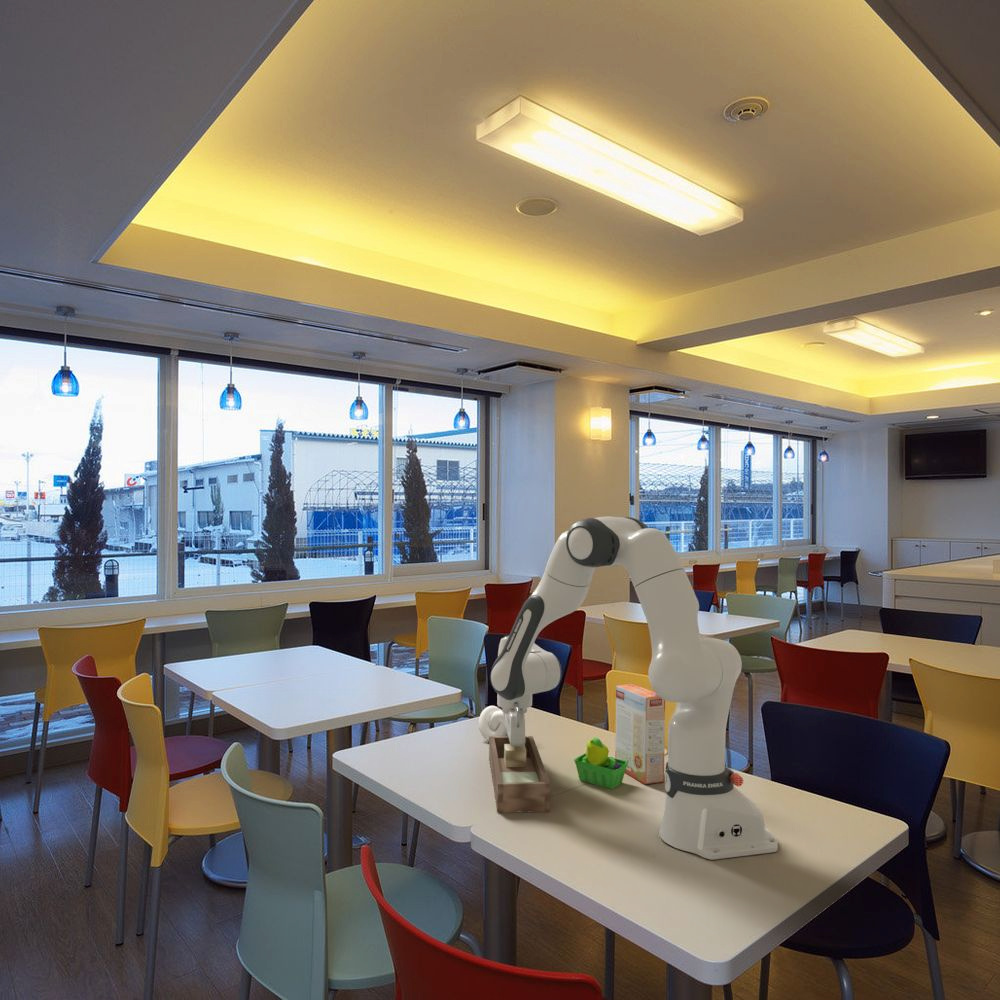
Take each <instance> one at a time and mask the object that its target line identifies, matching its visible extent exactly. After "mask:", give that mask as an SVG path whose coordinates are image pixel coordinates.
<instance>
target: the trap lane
mask: <svg viewBox="0 0 1000 1000" xmlns="http://www.w3.org/2000/svg"><path fill="white" fill-rule="evenodd" d="M488 742H489V743H488V744H489V747H488V753H489V754H488V762H489V761H490V762H489V768H491V769H490V772H491V773H490V775H491V774H492V775H491V779H492V780H491V781H492V787H494V788H493V792H494V799H495V800H496V801H495V806H496V813H497V812H501V813H519V812H518V811H521V812H520V813H529V812H528V811H531V812H530V813H550V812H551V782H550V779H549V777H548V773H547V771H546V768H545V765H544V762H543V760H542V758H541V755H540V752H539V749H538V747H537V743H536V741H535V739H534V736H533V735H527V736H526V735H525V748H526V767H505V762H504V744H510V742H509V738H508V736H506V735H505V736H494V737H489V741H488ZM532 811H533V812H532Z"/></svg>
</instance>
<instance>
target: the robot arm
mask: <svg viewBox="0 0 1000 1000" xmlns="http://www.w3.org/2000/svg"><path fill="white" fill-rule="evenodd" d="M619 566H621V567H623V568H624V569H625V570H626V571H627V573H628V575H629V577H630V579H631V582H632V586H633V587H634V590H635V593H636V596H637V598H638V601H639V604H640V606H641V609H642V612H643V613H644V616H645V619H646V623H647V626H648V627H647V628H648V630H649V637H650V644H651V645H650V646H651V661H650V664H649V666H648V673H647V675H648V681H649V685H650V687H651V689H652V691H653V692H655V693H656V694H657V695H658V696H659V697H660V698H662V699H664V700H665V702H669V703H676V706H675V709H674V712H673V714H672V716H671V718H670V719H669V722H668V727H667V762H666V763H665V770H664V790H665V793H666V796H665V797H666V798H665V805H664V810H663V816H662V819H661V824H660V827H659V830H658V836H659V838H660V839H661V840H662V841H664V843H666V844H667V845H668V846H669V845H670V846H671V847H673V848H676V849H678V850H681V851H684V852H688V853H692V854H696V855H698V856H700V857H701V858H704V859H708V860H720V859H729V858H738V857H745V856H753V855H761V854H770V853H776V852H777V851H778V850H779V844H778V843H779V842H778V839H777V838H776V836H775V835H774V834H773V833H772V831H770V829H769V828H767V827H766V824H765V820H764V817H763V814H762V812H761V809H760V808H759V807H758V806H757V805H756V803H754V802H753V801H752V800H751V799H750V798H748V797H747V796H746V794H744V793H743V792H741V791H740V790H739V789H738V788H736V787H741V786H742V785H743V784H744V781H745V780H744V778H743V777H742V776H741V775H740V774H739V773H738V772H734V771H733V770H732V769H730V767H727V766H726V732H727V730H726V729H727V723H728V718H729V713H730V709H731V704H732V699H733V694H734V688H735V685H736V682H737V681H738V678H739V676H740V675H741V672H742V666H743V665H742V664H743V663H742V657H741V654H740V652H739V651H738V650H737V648H736V647H735V646H734V645H733V644H732V643H730V642H729V641H726V640H724V639H719V638H713V637H703V638H702V637H701V634H700V629H699V620H698V614H699V610H700V604H699V599H698V597H697V596H696V592H695V590H694V588H693V587H692V586H693V585H692V584H691V581H690V579H689V577H688V575H687V572H686V570H685V567H684V565H683V564H682V560H681V559H680V557H679V555H678V553H677V552H676V550H675V548H674V546H673V545H672V543H671V542H670V539H669V538H668V537H667V535H666V534H665V533H664V532H663V531H661V530H660V529H658V528H654V527H648V526H647V524H646V523H644V522H643V521H642V520H640V519H638V518H634V517H629V516H623V517H621V516H620V517H619V516H610V515H608V516H599V517H598V516H597V517H587V518H583V519H580V520H578V521H577V522H574V524H572V525H571V526H570V528H569V529H568V530H566V531H564V532H562V533H561V534H560V536H558V538H557V540H556V542H555V544H554V546H553V548H552V550H551V552H550V555H549V557H548V560H547V563H546V566H545V569H544V572H543V574H542V577H541V580H540V581H539V583H538V585H537V587H536V588H535V589H534V591H533V593H532V594H531V595H530V596H529V597H528V598H527V599H526V600H525V601H524V602H523V605H522V606H521V608H520V611H519V612H518V615H517V616H516V619H515V621H514V624H513V626H512V628H511V631H510V633H509V635H505V636H503V637H502V638H501V639H500V641H499V644H498V651H497V657H496V659H495V661H494V662H493V664H492V667H491V670H490V674H489V680H490V684H491V686H492V688H493V690H494V691H495V693H497V696H496V698H497V701H496V702H497V703H496V704H497V707H498V708H501V710H502V712H503V713H504V721H505V725H506V730H507V734H508V738H509V742H510V745H511V746H524V745H525V736H526V718H525V714H526V713H528V709H529V708H531V707H532V706H533V695H534V694H539V693H544V692H548V691H552V690H554V689H556V688H557V686H558V685H559V684H560V682H561V680H562V671H563V670H562V665H561V663H560V660H559V659H558V657H557V656H556V655H555V654H554V653H553V652H552V651H547V650H545V649H543V648H541V646H539V645H538V644H536V643H535V641H536V639H537V637H538V636H539V634H540V632H541V631H542V630H543V629H544V628H545V627H547V626H548V625H549V624H551V623H554V622H555V621H556V620H558V619H560V618H564V617H565V616H567V615H570V614H572V613H574V612H576V610H578V609H579V608H580V607H581V606H582V604H583V603H584V601H585V599H586V597H587V595H588V592H589V589H590V586H591V583H592V580H593V577H594V573H595V571H596V568H600V567H612V568H614V567H619ZM735 786H736V787H735Z"/></svg>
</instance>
